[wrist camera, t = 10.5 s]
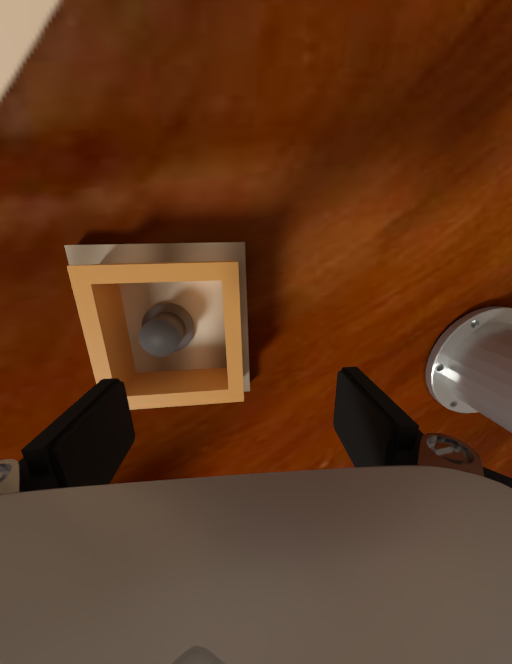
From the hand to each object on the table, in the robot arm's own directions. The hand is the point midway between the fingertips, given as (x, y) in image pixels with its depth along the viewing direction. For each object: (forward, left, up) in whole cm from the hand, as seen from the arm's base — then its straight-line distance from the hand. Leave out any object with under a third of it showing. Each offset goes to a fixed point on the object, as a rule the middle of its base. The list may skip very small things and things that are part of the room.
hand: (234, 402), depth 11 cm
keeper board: (+6, 0, -13) cm, 15 cm away
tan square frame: (+5, 0, -12) cm, 13 cm away
